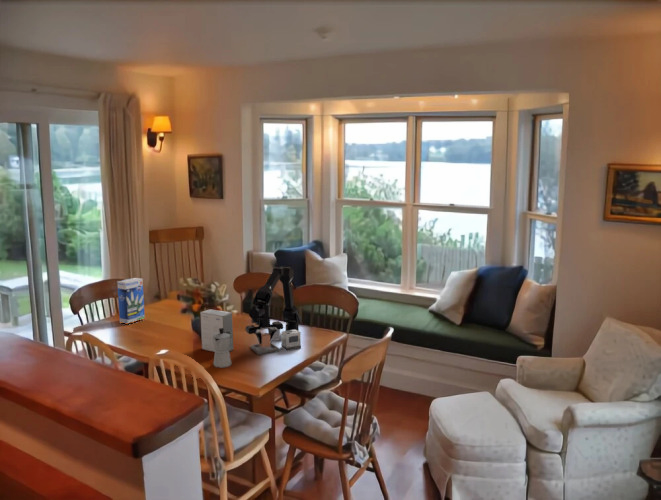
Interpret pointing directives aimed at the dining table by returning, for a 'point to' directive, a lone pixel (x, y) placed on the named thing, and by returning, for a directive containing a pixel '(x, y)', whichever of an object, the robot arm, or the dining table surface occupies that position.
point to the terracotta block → (265, 340)
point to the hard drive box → (215, 327)
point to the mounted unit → (291, 340)
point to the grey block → (276, 335)
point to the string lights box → (131, 300)
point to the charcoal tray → (264, 349)
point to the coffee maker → (222, 349)
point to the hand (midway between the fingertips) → (264, 343)
